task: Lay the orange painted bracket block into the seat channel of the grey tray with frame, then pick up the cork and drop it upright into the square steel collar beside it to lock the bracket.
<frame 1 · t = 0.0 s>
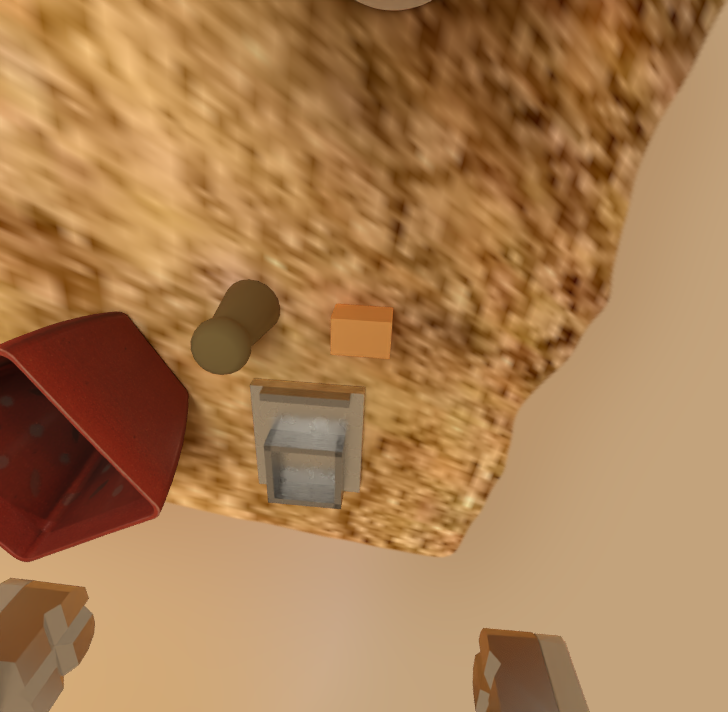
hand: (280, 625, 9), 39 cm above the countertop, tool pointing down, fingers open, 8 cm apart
bracket block: (363, 322, 49), on the countertop
cork: (252, 305, 49), on the countertop
plant pot: (119, 373, 55), on the countertop
grey tray with frame: (310, 434, 56), on the countertop
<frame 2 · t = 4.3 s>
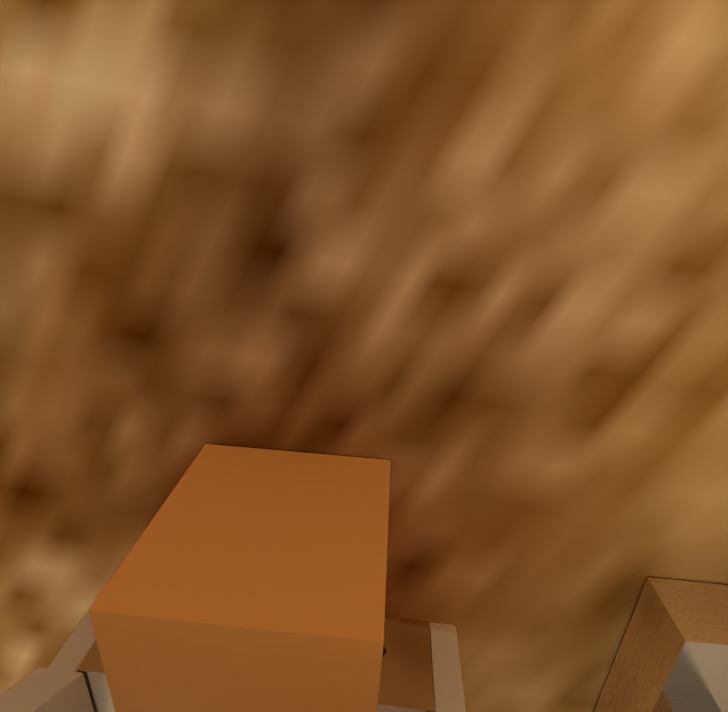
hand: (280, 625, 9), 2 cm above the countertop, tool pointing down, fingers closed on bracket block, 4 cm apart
bracket block: (298, 556, 11), on the countertop, touching gripper
when the fingers open (5 cm above the countertop, at t = 8.4 s): bracket block drops 2 cm, resting on grey tray with frame.
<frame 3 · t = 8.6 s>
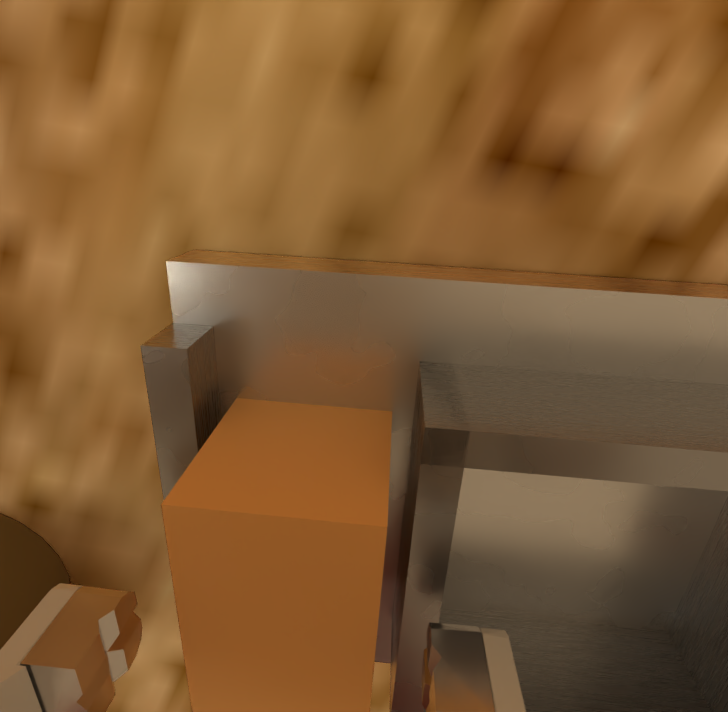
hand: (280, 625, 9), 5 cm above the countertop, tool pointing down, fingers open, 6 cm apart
bracket block: (312, 498, 13), point 1 cm above the countertop, touching grey tray with frame
grey tray with frame: (452, 479, 14), on the countertop
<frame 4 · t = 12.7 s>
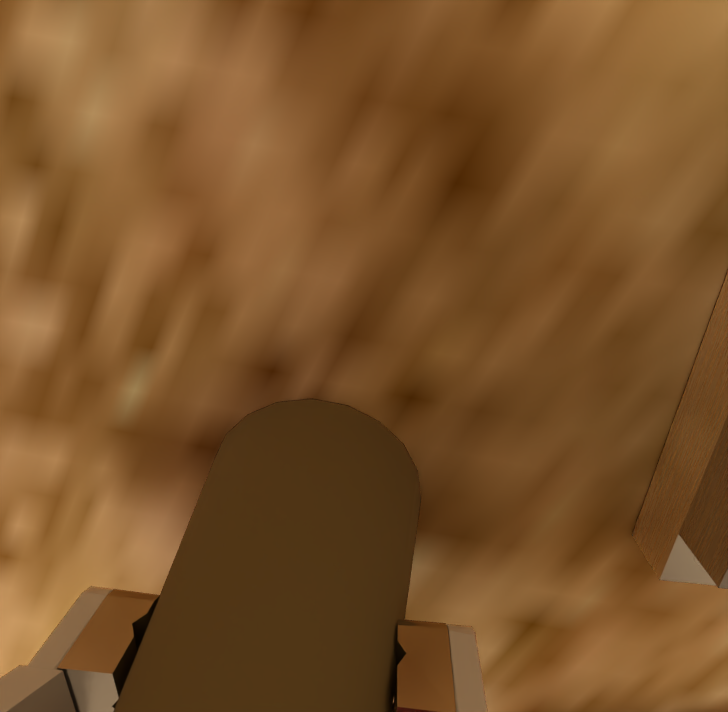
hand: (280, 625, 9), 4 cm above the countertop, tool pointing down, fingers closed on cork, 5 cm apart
cork: (316, 487, 13), on the countertop, touching gripper
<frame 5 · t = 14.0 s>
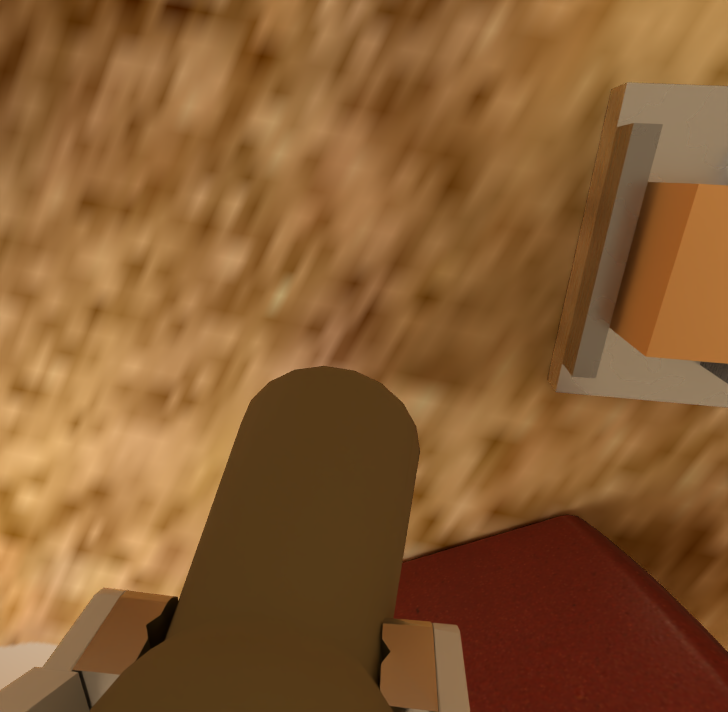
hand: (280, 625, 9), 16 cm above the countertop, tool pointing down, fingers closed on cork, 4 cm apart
bracket block: (671, 260, 19), point 1 cm above the countertop, touching grey tray with frame
cork: (329, 445, 15), point 9 cm above the countertop, touching gripper
plant pot: (511, 608, 30), on the countertop
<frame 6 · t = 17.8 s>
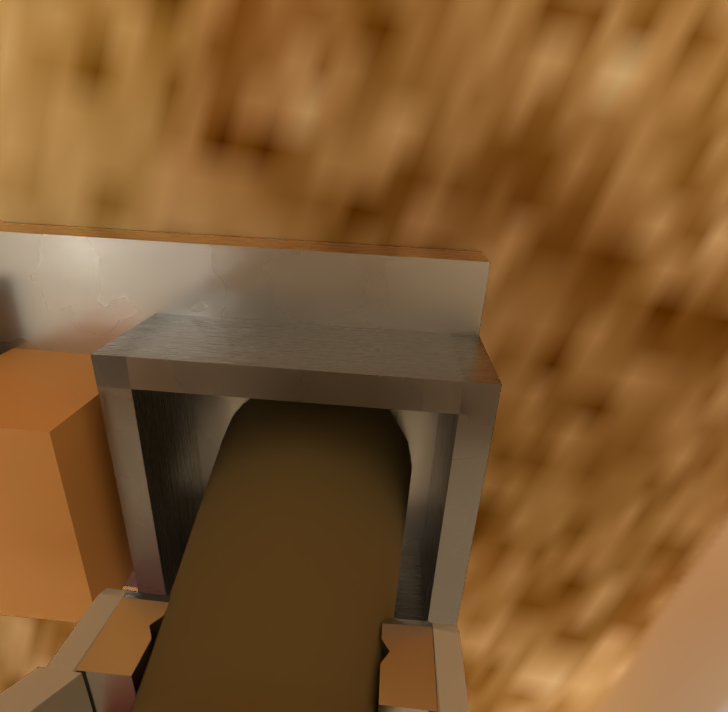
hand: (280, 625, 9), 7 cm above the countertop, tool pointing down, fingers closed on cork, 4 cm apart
bracket block: (96, 439, 15), point 1 cm above the countertop, touching grey tray with frame
cork: (316, 462, 15), point 1 cm above the countertop, touching gripper, grey tray with frame
grey tray with frame: (236, 426, 16), on the countertop
when the fingers open (7 cm above the countertop, at t = 18.1 s): cork stays where it is, resting on grey tray with frame.
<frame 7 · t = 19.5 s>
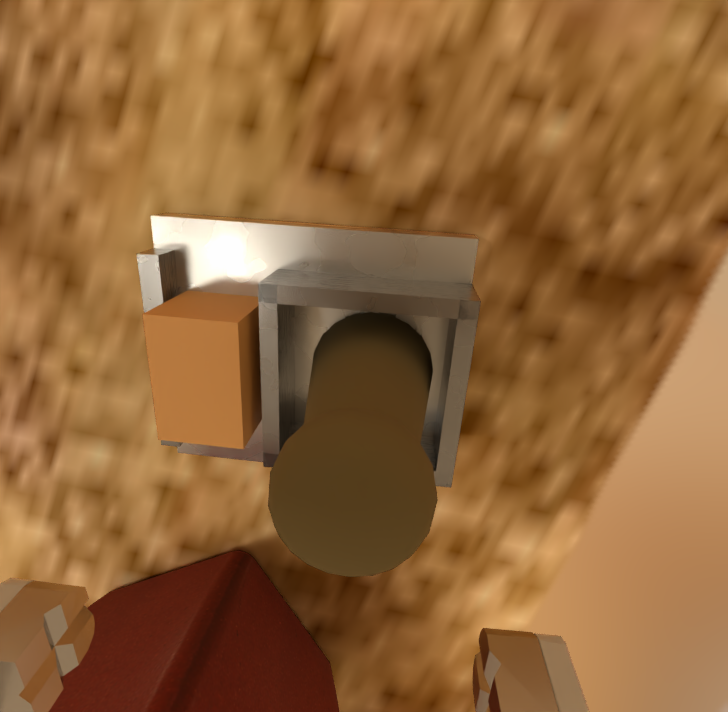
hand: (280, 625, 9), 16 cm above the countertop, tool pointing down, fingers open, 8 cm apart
bracket block: (230, 351, 23), point 1 cm above the countertop, touching grey tray with frame
cork: (372, 368, 23), point 1 cm above the countertop, touching grey tray with frame
plant pot: (224, 628, 34), on the countertop
grey tray with frame: (314, 349, 24), on the countertop
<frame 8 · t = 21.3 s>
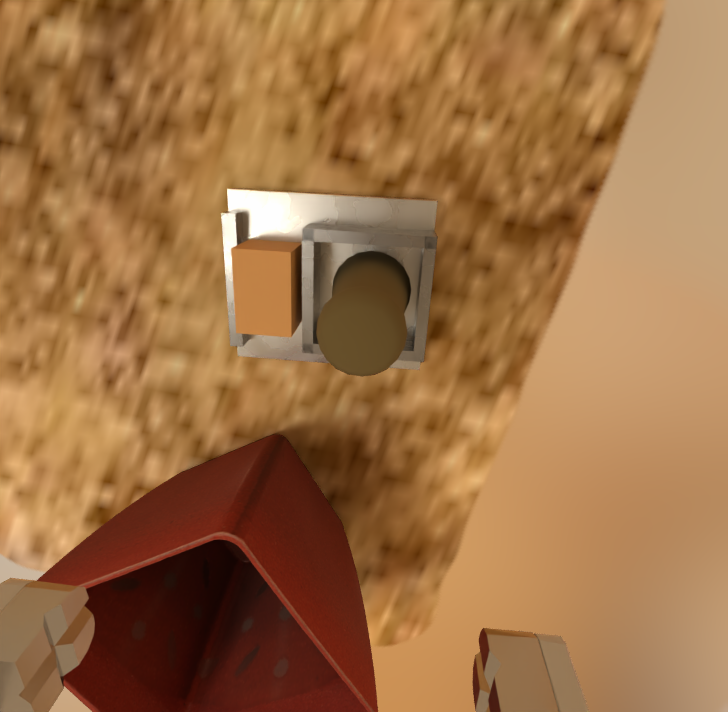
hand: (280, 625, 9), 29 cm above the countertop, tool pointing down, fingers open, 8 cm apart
bracket block: (276, 280, 35), point 1 cm above the countertop, touching grey tray with frame
cork: (371, 290, 35), point 1 cm above the countertop, touching grey tray with frame
plant pot: (263, 501, 46), on the countertop
grey tray with frame: (332, 280, 36), on the countertop
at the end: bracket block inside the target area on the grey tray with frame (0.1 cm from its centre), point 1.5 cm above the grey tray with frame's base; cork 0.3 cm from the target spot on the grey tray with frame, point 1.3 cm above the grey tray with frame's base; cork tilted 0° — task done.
